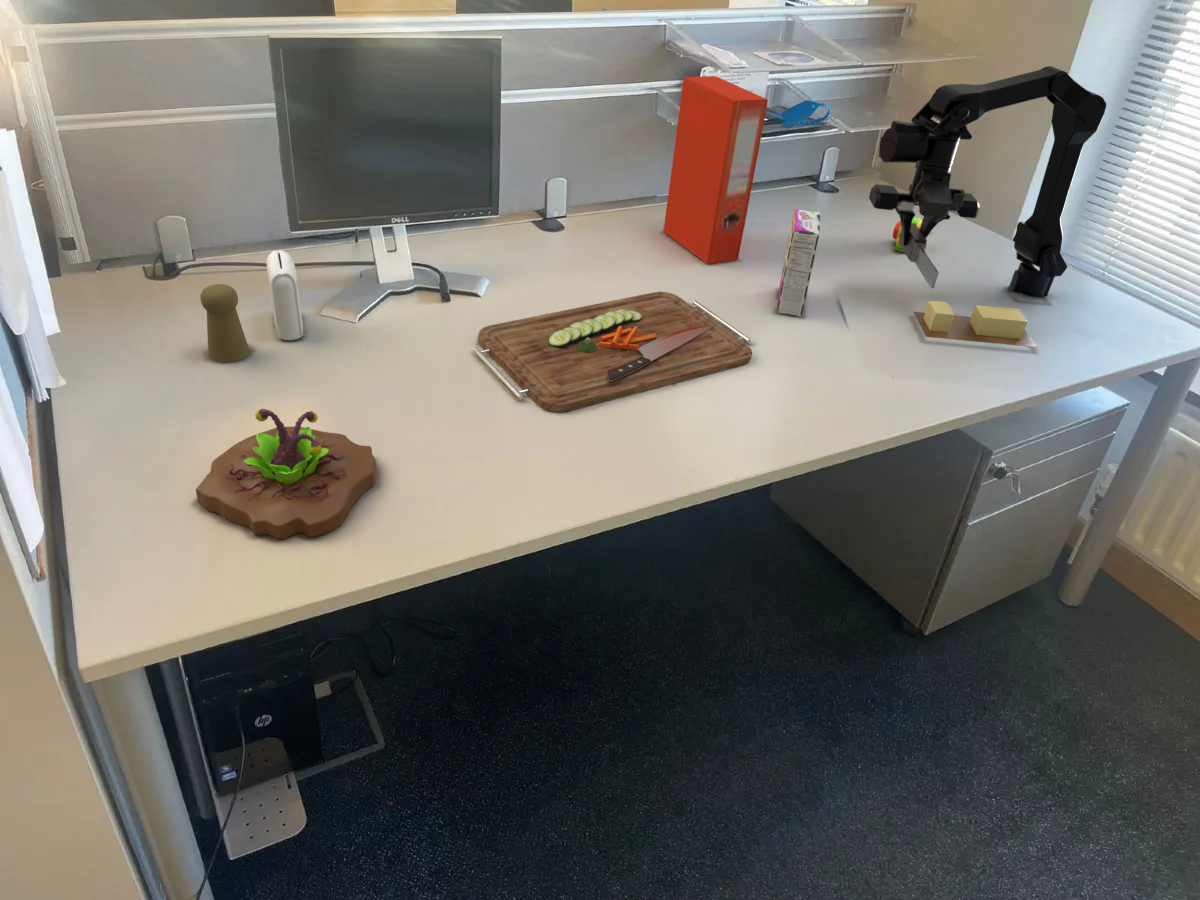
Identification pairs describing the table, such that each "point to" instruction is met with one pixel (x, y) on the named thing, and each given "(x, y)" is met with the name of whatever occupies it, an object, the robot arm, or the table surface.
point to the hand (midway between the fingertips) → (910, 245)
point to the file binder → (713, 167)
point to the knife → (919, 254)
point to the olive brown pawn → (223, 324)
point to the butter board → (970, 333)
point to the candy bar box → (798, 262)
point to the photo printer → (284, 295)
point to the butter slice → (938, 316)
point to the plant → (288, 479)
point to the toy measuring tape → (898, 231)
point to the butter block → (998, 322)
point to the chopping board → (610, 349)
